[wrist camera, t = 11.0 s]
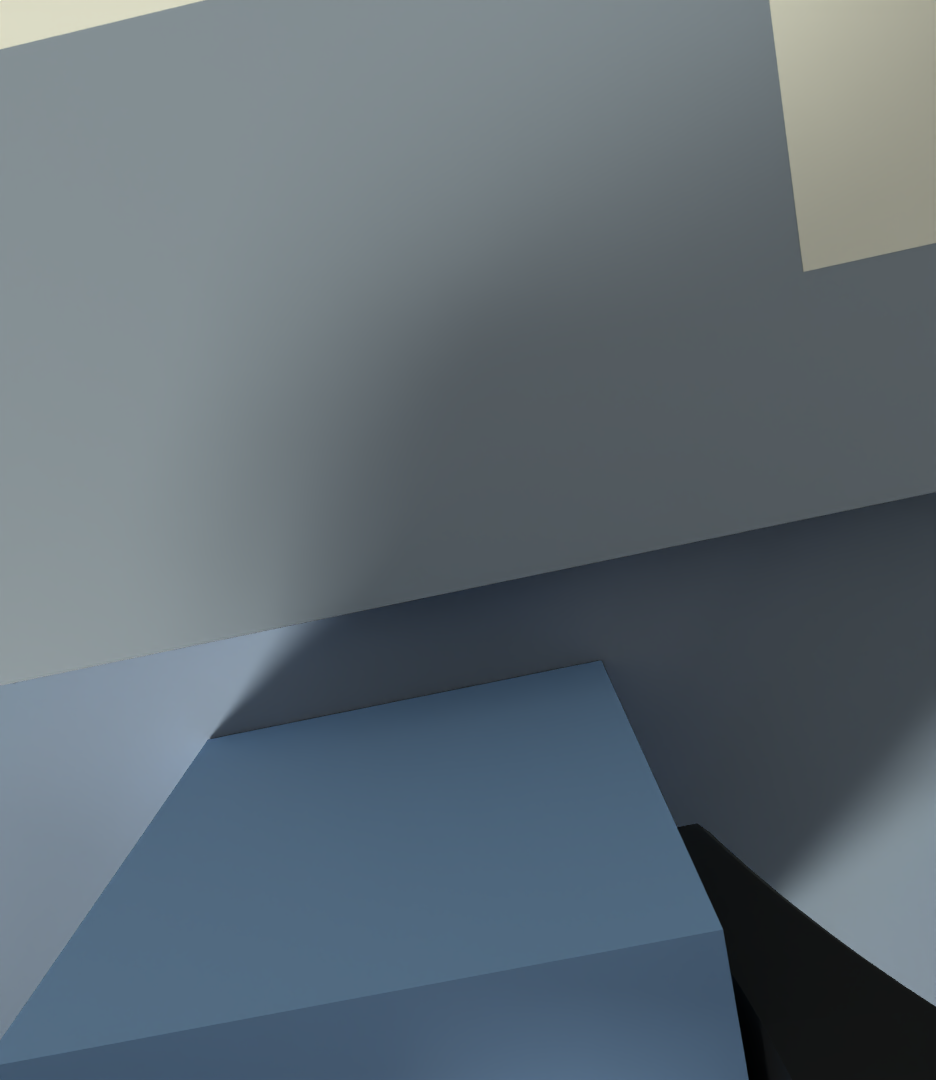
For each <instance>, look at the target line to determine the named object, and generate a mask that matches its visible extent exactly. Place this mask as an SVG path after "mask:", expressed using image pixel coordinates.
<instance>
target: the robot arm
mask: <svg viewBox="0 0 936 1080" xmlns="http://www.w3.org/2000/svg"><path fill="white" fill-rule="evenodd" d="M677 829H678V831H679V833H680V836H681V838H682V840H683V842H684V844H685V847H686V849H687V851H688V853H689V855H690V858H691V860H692V862H693V864H694V866H695V869H696V871H697V873H698V875H699V878H700V880H701V882H702V884H703V886H704V889H705V891H706V893H707V895H708V897H709V900H710V902H711V904H712V906H713V908H714V911H715V913H716V915H717V917H718V919H719V922H720V924H721V926H722V928H723V932H724V938H725V944H726V950H727V956H728V961H729V967H730V973H731V979H732V985H733V991H734V996H735V1002H736V1008H737V1014H738V1020H739V1026H740V1031H741V1037H742V1043H743V1049H744V1055H745V1061H746V1067H747V1072H748V1078H749V1080H936V1007H935V1006H934V1005H932V1004H931V1003H929V1002H928V1001H926V1000H925V999H923V998H922V997H920V996H919V995H917V994H915V993H914V992H912V991H911V990H909V989H908V988H906V987H905V986H903V985H902V984H900V983H899V982H898V981H896V980H895V979H893V978H892V977H890V976H889V975H887V974H886V973H885V972H883V971H882V970H880V969H879V968H877V967H876V966H874V965H873V964H871V963H870V962H869V961H867V960H866V959H864V958H863V957H861V956H860V955H859V954H857V953H856V952H855V951H853V950H852V949H850V948H849V947H848V946H846V945H845V944H844V943H842V942H841V941H840V940H838V939H837V938H835V937H834V936H833V935H832V934H830V933H829V932H828V931H826V930H825V929H824V928H822V927H821V926H820V925H819V924H817V923H816V922H815V921H813V920H812V919H811V918H810V917H808V916H807V915H806V914H804V913H803V912H802V911H801V910H799V909H798V908H797V907H795V906H794V905H793V904H792V903H790V902H789V901H788V900H787V899H785V898H784V897H783V896H782V895H780V894H779V893H778V892H777V891H776V890H774V889H773V888H772V887H771V886H770V885H768V884H767V883H766V882H765V881H764V880H762V879H761V878H760V877H759V876H758V875H757V874H755V873H754V872H753V871H752V870H751V869H750V868H748V867H747V866H746V865H745V864H744V863H743V862H742V861H740V860H739V859H738V858H737V857H736V856H735V855H734V854H733V853H731V852H730V851H729V850H728V849H727V848H726V847H725V846H724V845H723V844H722V843H720V842H719V841H718V840H717V839H716V838H715V837H714V836H713V835H712V834H711V833H710V832H709V831H707V830H706V829H704V828H703V827H701V826H700V825H698V824H693V825H687V826H682V827H677Z"/></svg>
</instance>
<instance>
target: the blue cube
mask: <svg viewBox="0 0 936 1080" xmlns="http://www.w3.org/2000/svg"><path fill="white" fill-rule="evenodd" d="M0 1080H749V1078H748V1072H747V1067H746V1061H745V1055H744V1049H743V1043H742V1037H741V1031H740V1026H739V1020H738V1014H737V1008H736V1002H735V996H734V991H733V985H732V979H731V973H730V967H729V961H728V956H727V950H726V944H725V938H724V932H723V928H722V926H721V924H720V922H719V919H718V917H717V915H716V913H715V911H714V908H713V906H712V904H711V902H710V900H709V897H708V895H707V893H706V891H705V889H704V886H703V884H702V882H701V880H700V878H699V875H698V873H697V871H696V869H695V866H694V864H693V862H692V860H691V858H690V855H689V853H688V851H687V849H686V847H685V844H684V842H683V840H682V838H681V836H680V833H679V831H678V829H677V827H676V825H675V822H674V820H673V818H672V816H671V813H670V811H669V809H668V807H667V805H666V802H665V800H664V798H663V796H662V794H661V791H660V789H659V787H658V785H657V783H656V780H655V778H654V776H653V774H652V771H651V769H650V767H649V765H648V763H647V760H646V758H645V756H644V754H643V752H642V749H641V747H640V745H639V743H638V741H637V738H636V736H635V734H634V732H633V730H632V727H631V725H630V723H629V721H628V718H627V716H626V714H625V712H624V710H623V707H622V705H621V703H620V701H619V699H618V696H617V694H616V692H615V690H614V688H613V685H612V683H611V681H610V679H609V677H608V674H607V672H606V670H605V668H604V665H603V663H602V661H601V660H600V661H595V662H590V663H585V664H580V665H576V666H571V667H566V668H561V669H556V670H551V671H546V672H541V673H536V674H531V675H526V676H521V677H516V678H511V679H506V680H501V681H496V682H491V683H486V684H481V685H476V686H471V687H466V688H462V689H457V690H452V691H447V692H442V693H437V694H432V695H427V696H422V697H417V698H412V699H407V700H402V701H397V702H392V703H387V704H382V705H377V706H372V707H367V708H362V709H357V710H353V711H348V712H343V713H338V714H333V715H328V716H323V717H318V718H313V719H308V720H303V721H298V722H293V723H288V724H283V725H278V726H273V727H268V728H263V729H258V730H253V731H249V732H244V733H239V734H234V735H229V736H224V737H219V738H214V739H209V740H207V742H206V743H205V745H204V746H203V748H202V749H201V751H200V752H199V753H198V755H197V756H196V758H195V759H194V761H193V762H192V764H191V765H190V767H189V768H188V769H187V771H186V772H185V774H184V775H183V777H182V778H181V780H180V781H179V782H178V784H177V785H176V787H175V788H174V790H173V791H172V793H171V794H170V795H169V797H168V798H167V800H166V801H165V803H164V804H163V806H162V807H161V809H160V810H159V811H158V813H157V814H156V816H155V817H154V819H153V820H152V822H151V823H150V824H149V826H148V827H147V829H146V830H145V832H144V833H143V835H142V836H141V837H140V839H139V840H138V842H137V843H136V845H135V846H134V848H133V849H132V850H131V852H130V853H129V855H128V856H127V858H126V859H125V861H124V862H123V864H122V865H121V866H120V868H119V869H118V871H117V872H116V874H115V875H114V877H113V878H112V879H111V881H110V882H109V884H108V885H107V887H106V888H105V890H104V891H103V892H102V894H101V895H100V897H99V898H98V900H97V901H96V903H95V904H94V906H93V907H92V908H91V910H90V911H89V913H88V914H87V916H86V917H85V919H84V920H83V921H82V923H81V924H80V926H79V927H78V929H77V930H76V932H75V933H74V934H73V936H72V937H71V939H70V940H69V942H68V943H67V945H66V946H65V948H64V949H63V950H62V952H61V953H60V955H59V956H58V958H57V959H56V961H55V962H54V963H53V965H52V966H51V968H50V969H49V971H48V972H47V974H46V975H45V976H44V978H43V979H42V981H41V982H40V984H39V985H38V987H37V988H36V989H35V991H34V992H33V994H32V995H31V997H30V998H29V1000H28V1001H27V1003H26V1004H25V1005H24V1007H23V1008H22V1010H21V1011H20V1013H19V1014H18V1016H17V1017H16V1018H15V1020H14V1021H13V1023H12V1024H11V1026H10V1027H9V1029H8V1030H7V1031H6V1033H5V1034H4V1036H3V1037H2V1039H1V1040H0Z"/></svg>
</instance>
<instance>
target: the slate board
mask: <svg viewBox="0 0 936 1080" xmlns="http://www.w3.org/2000/svg"><path fill="white" fill-rule="evenodd" d="M934 492H936V0H0V686H1V685H6V684H11V683H16V682H20V681H25V680H30V679H35V678H40V677H45V676H49V675H54V674H59V673H64V672H69V671H74V670H78V669H83V668H88V667H93V666H98V665H103V664H107V663H112V662H117V661H122V660H127V659H132V658H136V657H141V656H146V655H151V654H156V653H161V652H165V651H170V650H175V649H180V648H185V647H190V646H194V645H199V644H204V643H209V642H214V641H219V640H223V639H228V638H233V637H238V636H243V635H248V634H252V633H257V632H262V631H267V630H272V629H277V628H281V627H286V626H291V625H296V624H301V623H306V622H310V621H315V620H320V619H325V618H330V617H335V616H339V615H344V614H349V613H354V612H359V611H364V610H368V609H373V608H378V607H383V606H388V605H393V604H397V603H402V602H407V601H412V600H417V599H422V598H426V597H431V596H436V595H441V594H446V593H451V592H455V591H460V590H465V589H470V588H475V587H480V586H484V585H489V584H494V583H499V582H504V581H509V580H513V579H518V578H523V577H528V576H533V575H538V574H542V573H547V572H552V571H557V570H562V569H567V568H571V567H576V566H581V565H586V564H591V563H596V562H601V561H605V560H610V559H615V558H620V557H625V556H630V555H634V554H639V553H644V552H649V551H654V550H659V549H663V548H668V547H673V546H678V545H683V544H688V543H692V542H697V541H702V540H707V539H712V538H717V537H721V536H726V535H731V534H736V533H741V532H746V531H750V530H755V529H760V528H765V527H770V526H775V525H779V524H784V523H789V522H794V521H799V520H804V519H808V518H813V517H818V516H823V515H828V514H833V513H837V512H842V511H847V510H852V509H857V508H862V507H866V506H871V505H876V504H881V503H886V502H891V501H895V500H900V499H905V498H910V497H915V496H920V495H924V494H929V493H934Z"/></svg>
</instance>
